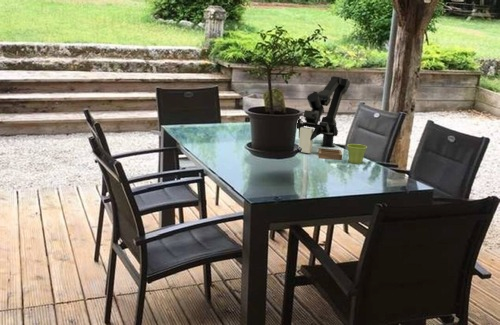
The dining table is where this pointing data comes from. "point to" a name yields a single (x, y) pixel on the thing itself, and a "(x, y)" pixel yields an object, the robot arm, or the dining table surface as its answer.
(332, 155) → the box
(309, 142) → the cream rectangular block
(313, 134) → the robot arm
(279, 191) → the dining table surface
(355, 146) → the plant pot
